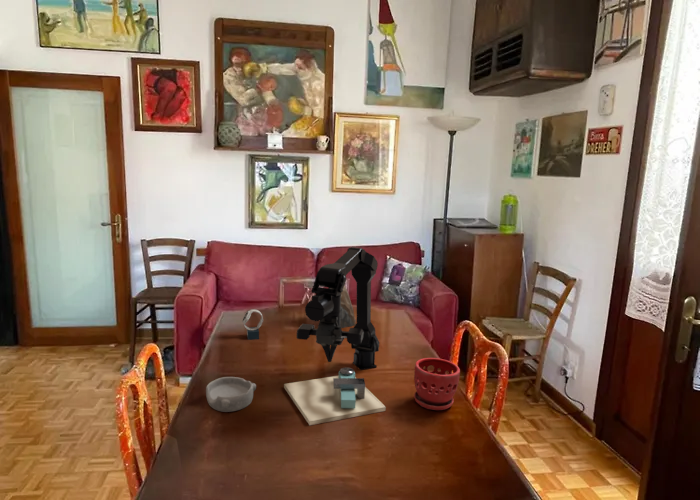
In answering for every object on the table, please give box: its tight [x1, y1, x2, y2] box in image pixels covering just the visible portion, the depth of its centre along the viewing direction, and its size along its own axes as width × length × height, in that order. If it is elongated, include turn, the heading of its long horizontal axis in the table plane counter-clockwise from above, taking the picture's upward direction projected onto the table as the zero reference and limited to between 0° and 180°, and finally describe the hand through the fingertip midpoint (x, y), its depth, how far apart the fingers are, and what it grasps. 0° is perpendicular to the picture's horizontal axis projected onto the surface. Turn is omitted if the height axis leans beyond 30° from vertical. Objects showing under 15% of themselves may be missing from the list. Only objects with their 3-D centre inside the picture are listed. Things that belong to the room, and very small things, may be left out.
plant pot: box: [413, 357, 461, 411], centre depth 149 cm, size 13×13×12 cm
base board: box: [283, 375, 387, 426], centre depth 150 cm, size 23×24×1 cm
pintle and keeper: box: [333, 366, 366, 399], centre depth 154 cm, size 14×9×5 cm, turn 4°
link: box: [338, 370, 356, 408], centre depth 152 cm, size 21×5×2 cm, turn 2°
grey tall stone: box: [327, 285, 357, 329], centre depth 217 cm, size 13×13×20 cm
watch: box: [241, 308, 264, 341], centre depth 198 cm, size 6×8×11 cm
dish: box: [205, 376, 257, 413], centre depth 147 cm, size 14×14×5 cm
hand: (329, 361), depth 147 cm, fingers closed
